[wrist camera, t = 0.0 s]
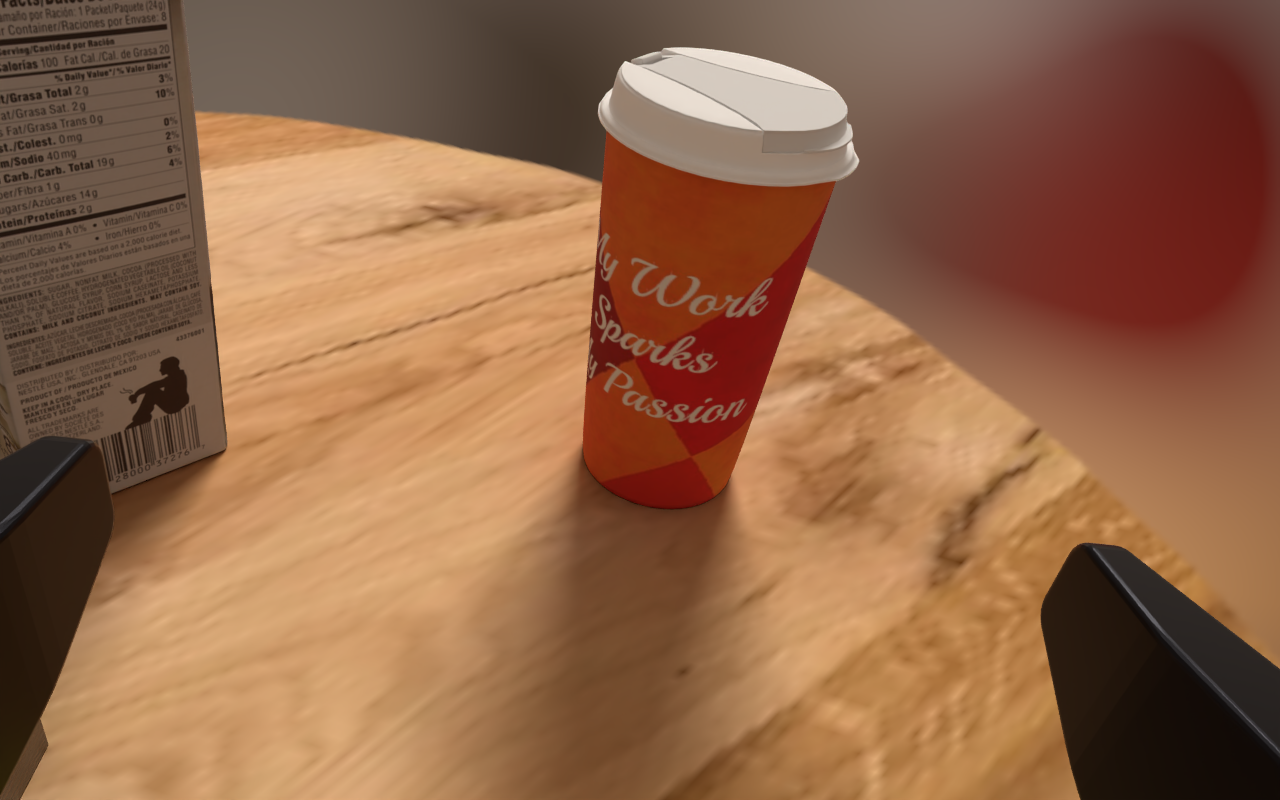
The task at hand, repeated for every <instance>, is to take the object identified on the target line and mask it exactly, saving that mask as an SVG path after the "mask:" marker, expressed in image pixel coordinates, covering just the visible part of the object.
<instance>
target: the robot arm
mask: <svg viewBox="0 0 1280 800" xmlns="http://www.w3.org/2000/svg"><path fill="white" fill-rule="evenodd" d="M113 527H114V506H113V501H112V496H111V491H110V486H109V482H108V477H107V472H106V467H105V462H104V457H103V454H102V451H101V449H100V447H99V445H98V444H97V443H95V442H94V441H92V440H89V439H81V438H71V437H61V436H45V437H42V438H40V439H37V440H35V441H33V442H31V443H30V444H28V445H26V446H24V447H22V448H20V449H19V450H17V451H15V452H13V453H11V454H9V455H7V456H6V457H4V458H2V459H0V796H1V794H2V792H3V790H4V788H5V786H6V784H7V782H8V780H9V778H10V776H11V775H12V773H13V771H14V769H15V767H16V765H17V763H18V761H19V759H20V757H21V755H22V753H23V751H24V749H25V747H26V745H27V743H28V741H29V739H30V737H31V735H32V733H33V731H34V729H35V728H36V726H37V724H38V722H39V720H40V718H41V716H42V714H43V712H44V709H45V707H46V705H47V703H48V701H49V699H50V697H51V695H52V693H53V691H54V688H55V686H56V683H57V681H58V678H59V676H60V673H61V671H62V668H63V666H64V663H65V661H66V658H67V655H68V652H69V650H70V647H71V644H72V642H73V639H74V636H75V633H76V631H77V628H78V625H79V623H80V620H81V617H82V615H83V612H84V609H85V606H86V604H87V601H88V598H89V596H90V593H91V590H92V587H93V585H94V582H95V579H96V577H97V574H98V571H99V568H100V566H101V563H102V560H103V558H104V555H105V552H106V549H107V547H108V544H109V541H110V539H111V535H112V531H113ZM1041 626H1042V631H1043V636H1044V641H1045V646H1046V651H1047V656H1048V661H1049V666H1050V671H1051V676H1052V681H1053V685H1054V690H1055V695H1056V700H1057V705H1058V710H1059V715H1060V720H1061V725H1062V730H1063V734H1064V739H1065V744H1066V748H1067V753H1068V757H1069V761H1070V765H1071V769H1072V773H1073V776H1074V780H1075V783H1076V786H1077V790H1078V793H1079V797H1080V800H1280V669H1279V668H1278V667H1277V666H1275V665H1274V664H1273V663H1271V662H1270V661H1269V660H1268V659H1266V658H1265V657H1264V656H1262V655H1261V654H1260V653H1259V652H1257V651H1256V650H1255V649H1253V648H1252V647H1251V646H1250V645H1248V644H1247V643H1246V642H1244V641H1243V640H1242V639H1241V638H1239V637H1238V636H1237V635H1235V634H1234V633H1233V632H1232V631H1230V630H1229V629H1228V628H1227V627H1225V626H1224V625H1223V624H1221V623H1220V622H1219V621H1218V620H1216V619H1215V618H1214V617H1212V616H1211V615H1210V614H1209V613H1207V612H1206V611H1205V610H1203V609H1202V608H1201V607H1200V606H1198V605H1197V604H1196V603H1194V602H1193V601H1192V600H1191V599H1189V598H1188V597H1187V596H1186V595H1184V594H1183V593H1182V592H1180V591H1179V590H1178V589H1177V588H1175V587H1174V586H1173V585H1171V584H1170V583H1169V582H1168V581H1166V580H1165V579H1164V578H1162V577H1161V576H1160V575H1159V574H1157V573H1156V572H1155V571H1154V570H1152V569H1151V568H1150V567H1148V566H1147V565H1146V564H1145V563H1143V562H1142V561H1141V560H1139V559H1138V558H1137V557H1136V556H1134V555H1133V554H1132V553H1130V552H1129V551H1128V550H1126V549H1124V548H1122V547H1119V546H1115V545H1105V544H1095V543H1082V544H1079V545H1077V546H1076V547H1075V548H1073V549H1072V551H1071V552H1070V554H1069V555H1068V557H1067V559H1066V561H1065V563H1064V564H1063V566H1062V568H1061V570H1060V571H1059V573H1058V575H1057V577H1056V578H1055V580H1054V582H1053V584H1052V586H1051V587H1050V589H1049V591H1048V593H1047V594H1046V596H1045V598H1044V601H1043V604H1042V608H1041Z"/></svg>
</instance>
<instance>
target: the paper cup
mask: <svg viewBox="0 0 1280 800" xmlns="http://www.w3.org/2000/svg"><path fill="white" fill-rule="evenodd" d="M631 62H632V63H633V64H632V63H628V62H626V61H625V62H624V63H623V64H622V66H621V67H620V69H619V71H618V73H617V77H616V80H615V83H614V87H613V89H611V90H610V91H609V92H607V93H606V95H605V97H604V98H603V99H602V101H601V102H600V104H599V109H598V116H599V119H600V122H601V123H602V125H603V126H604V128H605V129H606V130H607V134H606V147H605V158H604V170H603V183H602V195H601V207H600V219H599V231H598V243H597V256H596V268H595V280H594V292H593V304H592V317H591V330H590V342H589V355H588V368H587V382H586V396H585V411H584V428H583V454H584V460H585V463H586V465H587V468H588V469H589V471H590V473H591V474H592V475H593V477H594V478H595V479H596V480H597V481H598V482H599V483H600V484H601V485H602V486H603V487H605V488H606V489H607V490H609V491H610V492H612V493H614V494H615V495H617V496H619V497H621V498H623V499H625V500H628V501H630V502H633V503H636V504H640V505H643V506H648V507H653V508H661V509H680V508H688V507H693V506H697V505H700V504H702V503H705V502H707V501H709V500H711V499H712V498H714V497H715V496H717V495H718V494H719V493H720V492H721V491H722V490H723V489H724V487H725V486H726V484H727V482H728V480H729V478H730V476H731V473H732V471H733V469H734V466H735V464H736V461H737V459H738V456H739V453H740V451H741V448H742V445H743V443H744V440H745V437H746V435H747V432H748V429H749V426H750V423H751V421H752V418H753V415H754V412H755V410H756V407H757V404H758V401H759V399H760V396H761V393H762V390H763V387H764V384H765V382H766V379H767V376H768V373H769V370H770V367H771V365H772V362H773V359H774V356H775V353H776V351H777V348H778V345H779V342H780V339H781V336H782V334H783V331H784V328H785V325H786V322H787V319H788V316H789V314H790V311H791V308H792V305H793V302H794V299H795V296H796V294H797V291H798V288H799V285H800V282H801V279H802V276H803V274H804V271H805V268H806V265H807V262H808V259H809V256H810V253H811V251H812V248H813V245H814V242H815V239H816V237H817V233H818V231H819V228H820V225H821V222H822V219H823V216H824V214H825V211H826V208H827V205H828V202H829V199H830V197H831V194H832V191H833V188H834V185H835V182H836V181H840V180H842V179H843V178H845V177H847V176H849V175H850V174H851V173H852V172H853V171H854V170H855V169H856V167H857V165H858V163H859V159H858V157H857V155H856V153H855V151H854V147H853V143H852V141H851V140H852V137H853V132H852V128H851V125H850V124H848V123H847V106H846V104H845V102H844V101H843V99H842V98H841V96H840V95H839V94H838V92H837V91H836V90H834V89H833V88H832V87H830V86H828V85H827V84H825V83H824V82H822V81H820V80H818V79H816V78H814V77H812V76H810V75H807V74H805V73H803V72H801V71H798V70H795V69H793V68H790V67H787V66H784V65H781V64H778V63H775V62H771V61H768V60H764V59H760V58H756V57H752V56H747V55H743V54H738V53H732V52H725V51H719V50H711V49H700V48H664V49H663V50H662V51H661V52H654V53H650V54H648V55H644V56H641V57H638V58H635V59H633V60H632V61H631ZM634 64H636V65H634Z"/></svg>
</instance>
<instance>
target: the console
mask: <svg viewBox="0 0 1280 800" xmlns="http://www.w3.org/2000/svg"><path fill="white" fill-rule="evenodd" d="M47 746H48V742H47V739H46V735H45V732H44V729H43V726H42V723H41V720H39V722H38V724H37V726H36V728H35V729H34V731H33V733H32V735H31V737H30V739H29V741H28V743H27V745H26V747H25V749H24V751H23V753H22V755H21V757H20V759H19V761H18V763H17V765H16V767H15V769H14V771H13V773H12V775H11V776H10V778H9V780H8V782H7V784H6V786H5V788H4V790H3V792H2V794H1V796H0V800H19V799H20V797H21V795H22V794H23V792H24V790H25V788H26V786H27V784H28V782H29V780H30V779H31V777H32V775H33V773H34V771H35V769H36V767H37V765H38V763H39V762H40V760H41V758H42V756H43V754H44V752H45V750H46V748H47Z"/></svg>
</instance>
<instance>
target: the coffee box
mask: <svg viewBox="0 0 1280 800" xmlns="http://www.w3.org/2000/svg"><path fill="white" fill-rule="evenodd" d="M45 436H61V437H71V438H81V439H89V440H92V441H94V442H95V443H97V444H98V445H99V447H100V449H101V451H102V454H103V457H104V462H105V467H106V472H107V477H108V482H109V486H110V491H111V494H112V493H114V492H117V491H120V490H122V489H125V488H127V487H130V486H133V485H135V484H138V483H140V482H143V481H146V480H148V479H151V478H153V477H156V476H158V475H161V474H164V473H166V472H169V471H171V470H174V469H177V468H179V467H182V466H185V465H187V464H190V463H192V462H195V461H197V460H200V459H202V458H205V457H208V456H210V455H213V454H216V453H218V452H221V451H223V450H225V449H226V447H227V432H226V424H225V416H224V407H223V398H222V386H221V377H220V367H219V356H218V344H217V337H216V326H215V316H214V305H213V294H212V286H211V272H210V262H209V252H208V241H207V231H206V221H205V211H204V201H203V190H202V180H201V171H200V160H199V148H198V138H197V129H196V119H195V110H194V101H193V91H192V82H191V72H190V62H189V51H188V42H187V31H186V22H185V12H184V2H183V0H0V459H2V458H4V457H6V456H7V455H9V454H11V453H13V452H15V451H17V450H19V449H20V448H22V447H24V446H26V445H28V444H30V443H31V442H33V441H35V440H37V439H40V438H42V437H45Z"/></svg>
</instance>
